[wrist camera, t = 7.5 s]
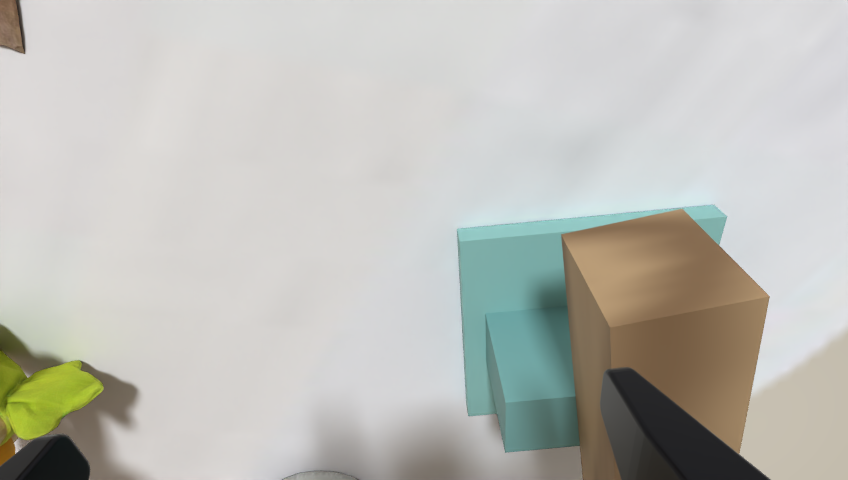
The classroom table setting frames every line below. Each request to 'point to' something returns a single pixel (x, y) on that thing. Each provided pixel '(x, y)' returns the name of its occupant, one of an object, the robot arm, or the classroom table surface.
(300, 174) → the classroom table surface
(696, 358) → the walnut bar
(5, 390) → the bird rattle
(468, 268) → the fulcrum block
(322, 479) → the coffee cup
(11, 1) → the wooden fragment
